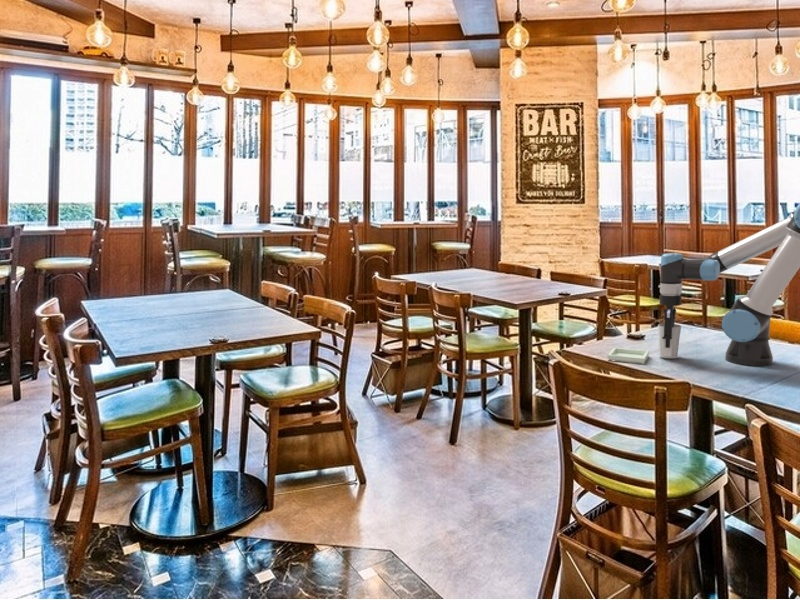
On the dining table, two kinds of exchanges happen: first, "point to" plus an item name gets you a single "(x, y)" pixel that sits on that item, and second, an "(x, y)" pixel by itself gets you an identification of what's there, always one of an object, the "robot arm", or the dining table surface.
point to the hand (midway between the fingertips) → (668, 353)
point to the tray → (628, 355)
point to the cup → (675, 340)
